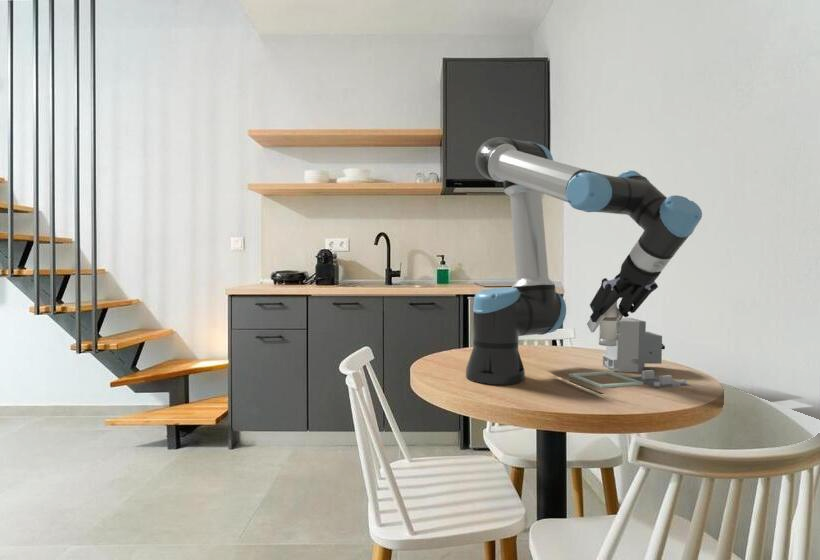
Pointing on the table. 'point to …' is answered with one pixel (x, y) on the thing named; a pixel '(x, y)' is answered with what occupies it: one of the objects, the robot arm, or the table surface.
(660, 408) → the table surface
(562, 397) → the table surface
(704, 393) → the table surface
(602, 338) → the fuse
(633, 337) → the circuit breaker
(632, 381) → the tray
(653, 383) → the block
